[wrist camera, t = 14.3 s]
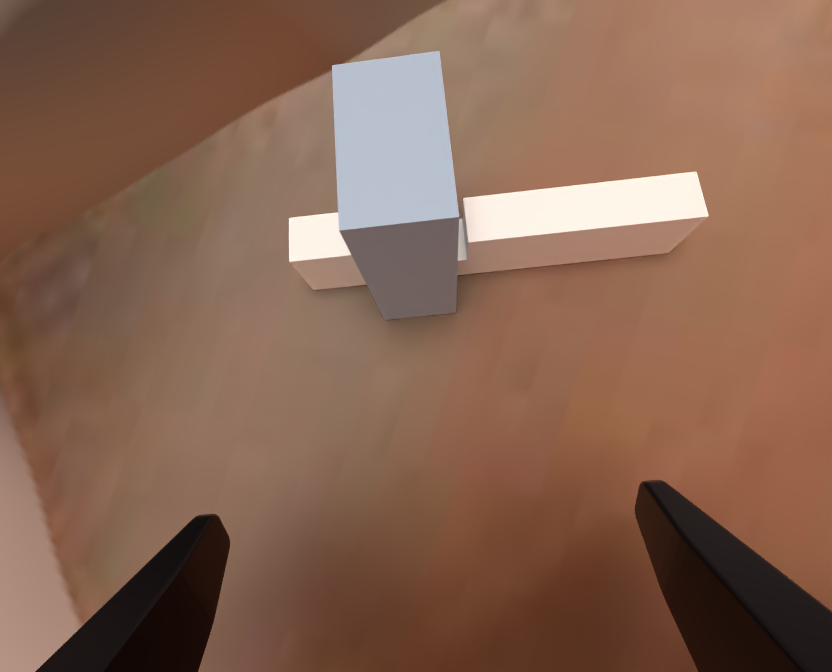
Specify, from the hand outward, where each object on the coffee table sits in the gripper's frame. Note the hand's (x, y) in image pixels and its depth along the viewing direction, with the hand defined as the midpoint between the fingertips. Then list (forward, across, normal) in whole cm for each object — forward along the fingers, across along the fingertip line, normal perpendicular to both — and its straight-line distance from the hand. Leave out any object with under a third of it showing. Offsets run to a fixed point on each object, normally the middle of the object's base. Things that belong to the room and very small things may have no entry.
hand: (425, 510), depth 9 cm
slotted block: (+18, 0, +1) cm, 18 cm away
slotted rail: (+18, -4, +1) cm, 19 cm away
